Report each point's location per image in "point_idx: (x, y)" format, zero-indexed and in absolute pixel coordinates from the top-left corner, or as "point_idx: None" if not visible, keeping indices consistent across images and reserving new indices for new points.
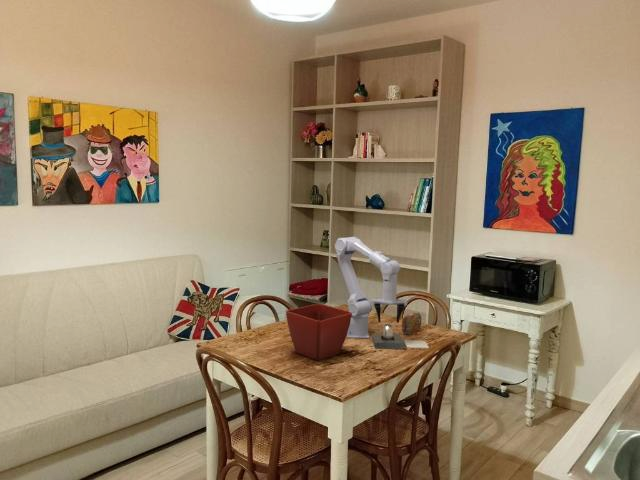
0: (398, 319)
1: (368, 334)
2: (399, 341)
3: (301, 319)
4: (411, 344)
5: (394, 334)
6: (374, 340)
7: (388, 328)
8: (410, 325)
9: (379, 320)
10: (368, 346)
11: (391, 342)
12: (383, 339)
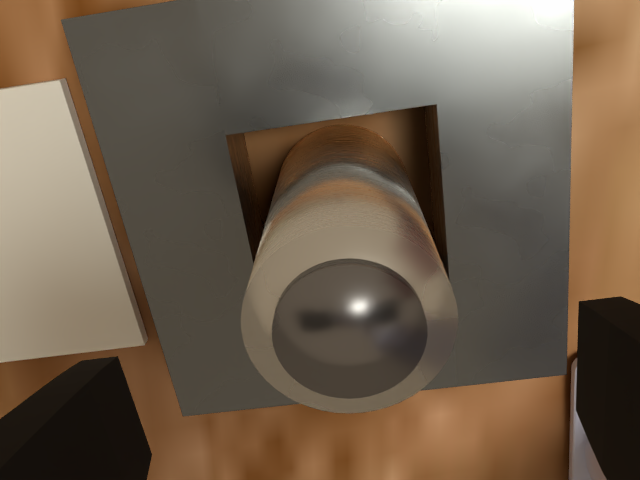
0: (41, 399)
1: (574, 449)
2: (150, 96)
3: None
4: (23, 204)
5: (253, 396)
6: (568, 56)
7: (340, 215)
8: None
9: (634, 310)
10: (623, 27)
11: (277, 9)
12: (408, 178)
